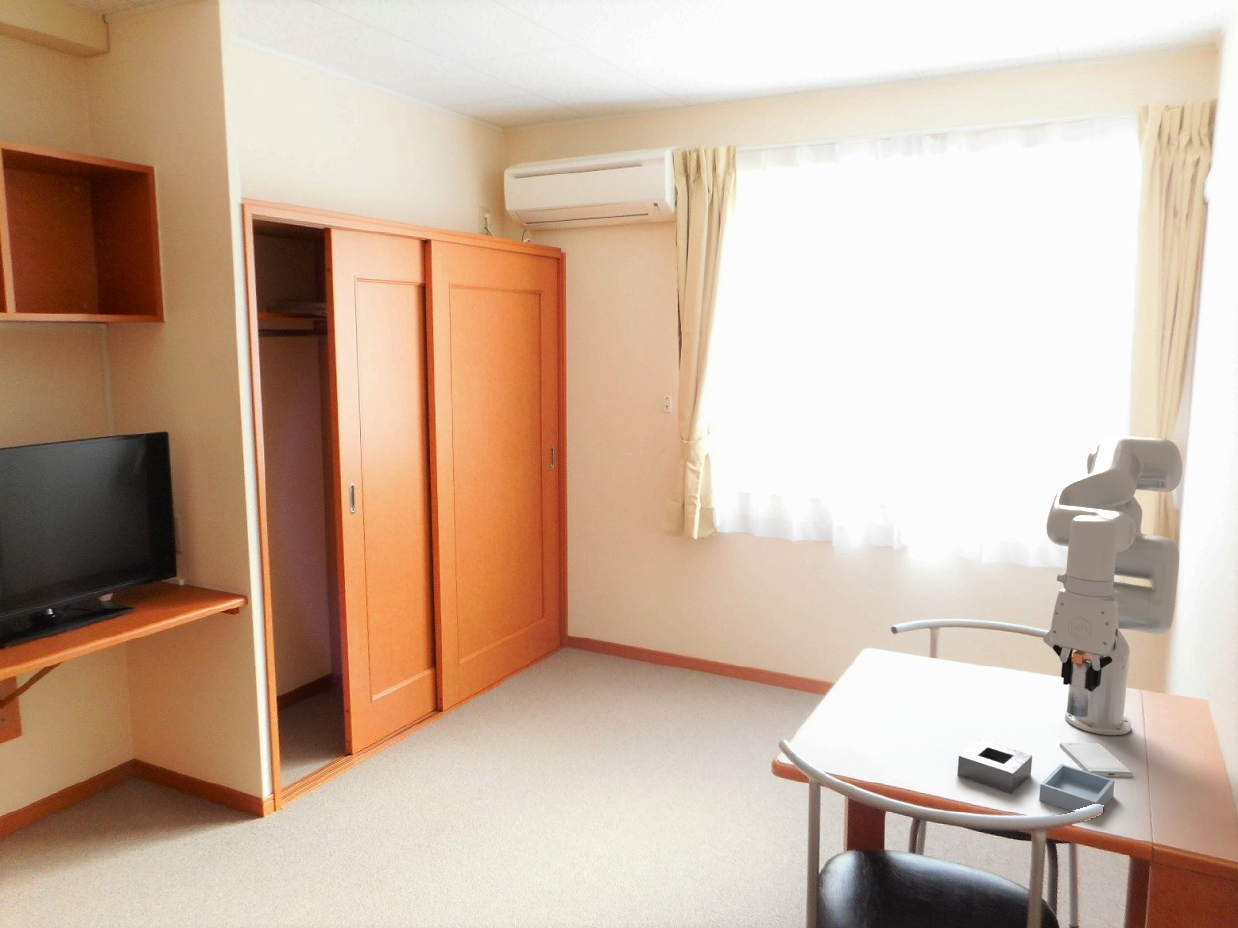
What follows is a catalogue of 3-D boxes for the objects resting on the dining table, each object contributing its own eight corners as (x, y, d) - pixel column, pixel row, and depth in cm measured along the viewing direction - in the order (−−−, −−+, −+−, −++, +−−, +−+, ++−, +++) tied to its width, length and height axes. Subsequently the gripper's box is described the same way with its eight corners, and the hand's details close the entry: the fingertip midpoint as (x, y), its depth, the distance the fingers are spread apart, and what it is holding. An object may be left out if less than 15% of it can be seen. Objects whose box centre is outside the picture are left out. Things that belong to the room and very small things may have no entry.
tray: (1059, 778, 171) (1061, 763, 171) (1113, 795, 165) (1114, 780, 164) (1039, 799, 163) (1040, 784, 162) (1094, 818, 157) (1096, 802, 156)
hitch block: (978, 758, 179) (979, 738, 178) (1030, 775, 172) (1032, 755, 172) (957, 775, 172) (958, 755, 171) (1011, 793, 165) (1012, 773, 164)
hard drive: (1059, 741, 185) (1090, 770, 172) (1100, 742, 184) (1133, 771, 172) (1059, 749, 185) (1089, 778, 172) (1099, 750, 185) (1132, 779, 172)
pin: (1062, 713, 162) (1067, 651, 160) (1072, 706, 165) (1078, 645, 164) (1082, 719, 159) (1087, 656, 158) (1092, 712, 163) (1098, 650, 161)
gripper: (1032, 580, 162) (1024, 678, 165) (1134, 600, 151) (1124, 705, 153) (1047, 573, 167) (1039, 668, 170) (1147, 591, 156) (1137, 693, 158)
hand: (1080, 684), depth 162 cm, fingers closed on pin, 3 cm apart
